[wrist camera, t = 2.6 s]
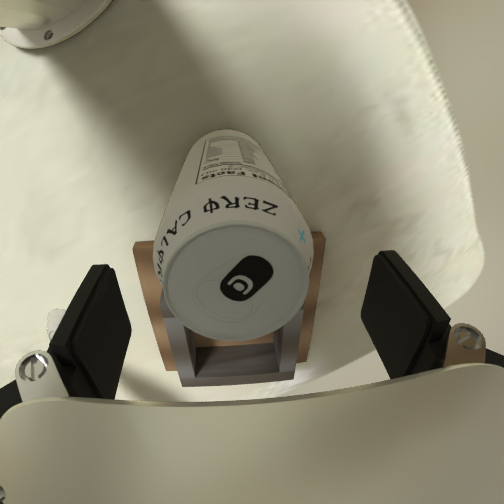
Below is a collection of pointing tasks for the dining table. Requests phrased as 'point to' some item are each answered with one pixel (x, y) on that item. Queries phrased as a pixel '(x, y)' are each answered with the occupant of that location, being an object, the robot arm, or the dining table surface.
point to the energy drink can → (232, 242)
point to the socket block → (228, 352)
